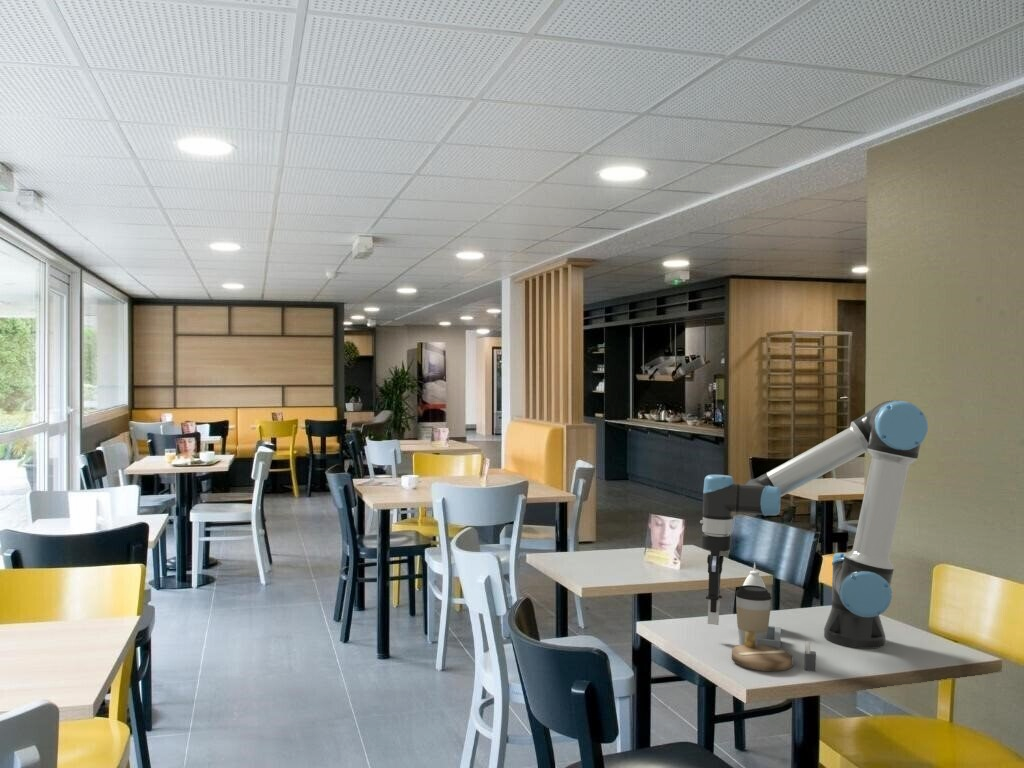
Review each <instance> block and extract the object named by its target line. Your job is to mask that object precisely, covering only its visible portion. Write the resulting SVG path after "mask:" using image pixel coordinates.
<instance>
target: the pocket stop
mask: <svg viewBox="0 0 1024 768" xmlns="http://www.w3.org/2000/svg"><path fill="white" fill-rule="evenodd" d="M781 629H782V628H781V626H780V627H778V626H775V625H768V631H767V639H761V638H758V641H757V645H766V646H772V647H776V648H780V649H781V645H782V644H781V639H782V637H781V634H782V633H781V632H782V631H781Z"/></svg>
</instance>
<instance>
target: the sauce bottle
mask: <svg viewBox="0 0 1024 768" xmlns="http://www.w3.org/2000/svg"><path fill="white" fill-rule="evenodd" d="M756 568H757V567H756V562H755V561H754V564H753V570H750V571H749V574H748V576H747V577H746V578H745V580H744V582H743V584H742V586H744V585H754V586H760V587H764V588H766V589H767V587H766V585H765V582H764V580H763V578H762V577H761V575H760V571H757V570H756Z"/></svg>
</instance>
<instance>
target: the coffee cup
mask: <svg viewBox="0 0 1024 768" xmlns="http://www.w3.org/2000/svg"><path fill="white" fill-rule="evenodd" d="M735 597H736V604H735V606H736V607H735V609H736V623H737V625H736V626H737V633H738V636H737V637H738V645H745V631H754V632H755V644H757V641H758V638H761V639H767V631H768V626H770V625H769V624H770V616H771V600H772V599H773V597H772V596H771V592H769V591H768V589H767V587H766V588H764V587H760V586H754V585H744V586H743V585H740V587H739V588H738V589H737V590H736V593H735Z"/></svg>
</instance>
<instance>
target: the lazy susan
mask: <svg viewBox="0 0 1024 768" xmlns="http://www.w3.org/2000/svg"><path fill="white" fill-rule="evenodd" d="M731 659H732V660H731V661H733V663H736V664H738V665H739V666H741V667H745V668H748V669H753V670H757V671H766V672H769V671H770V672H779V671H785V670H788V669H790V668H792V667H793V655H792V653H790V652H789V651H788V650H785V649H783V648H781V647H780V648H776V647H772V646H766V645H757V644H755V632H754V631H745V645H740V644H738V645H736V646H734V647H733V648H732V649H731Z"/></svg>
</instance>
